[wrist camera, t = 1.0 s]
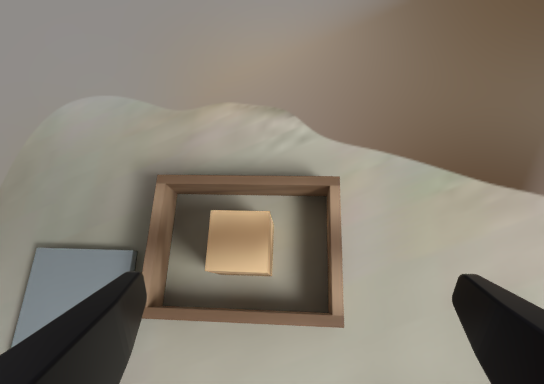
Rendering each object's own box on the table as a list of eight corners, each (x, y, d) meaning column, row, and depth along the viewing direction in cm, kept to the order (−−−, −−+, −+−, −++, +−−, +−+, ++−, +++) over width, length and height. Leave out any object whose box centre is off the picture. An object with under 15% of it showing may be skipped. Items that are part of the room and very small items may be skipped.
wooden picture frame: (338, 323, 26) (344, 327, 23) (152, 315, 27) (135, 317, 24) (335, 188, 29) (339, 176, 26) (170, 185, 30) (157, 174, 27)
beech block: (272, 276, 27) (266, 272, 22) (220, 274, 28) (204, 270, 23) (273, 224, 29) (269, 211, 24) (224, 223, 29) (210, 210, 24)
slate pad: (119, 362, 26) (113, 364, 25) (16, 356, 27) (8, 358, 26) (137, 251, 29) (133, 250, 28) (43, 248, 29) (37, 247, 28)
